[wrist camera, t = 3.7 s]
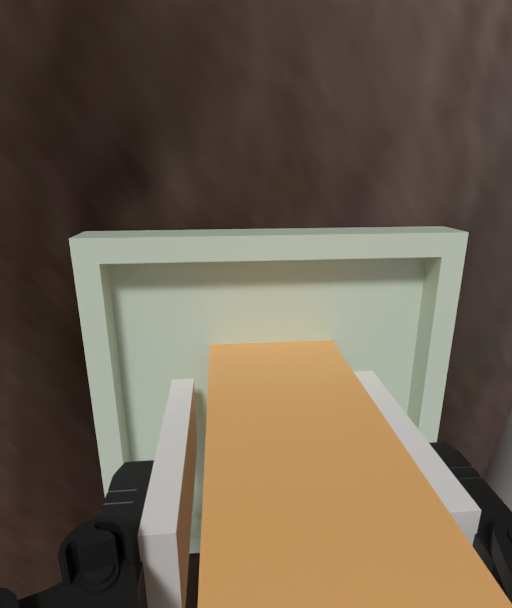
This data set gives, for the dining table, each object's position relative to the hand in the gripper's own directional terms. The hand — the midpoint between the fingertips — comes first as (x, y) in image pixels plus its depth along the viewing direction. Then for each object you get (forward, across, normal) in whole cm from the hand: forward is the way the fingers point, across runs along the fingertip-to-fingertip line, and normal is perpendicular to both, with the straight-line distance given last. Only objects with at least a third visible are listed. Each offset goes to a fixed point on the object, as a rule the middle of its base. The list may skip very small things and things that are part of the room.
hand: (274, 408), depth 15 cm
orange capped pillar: (+1, 0, 0) cm, 1 cm away
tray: (+1, 0, 0) cm, 1 cm away
